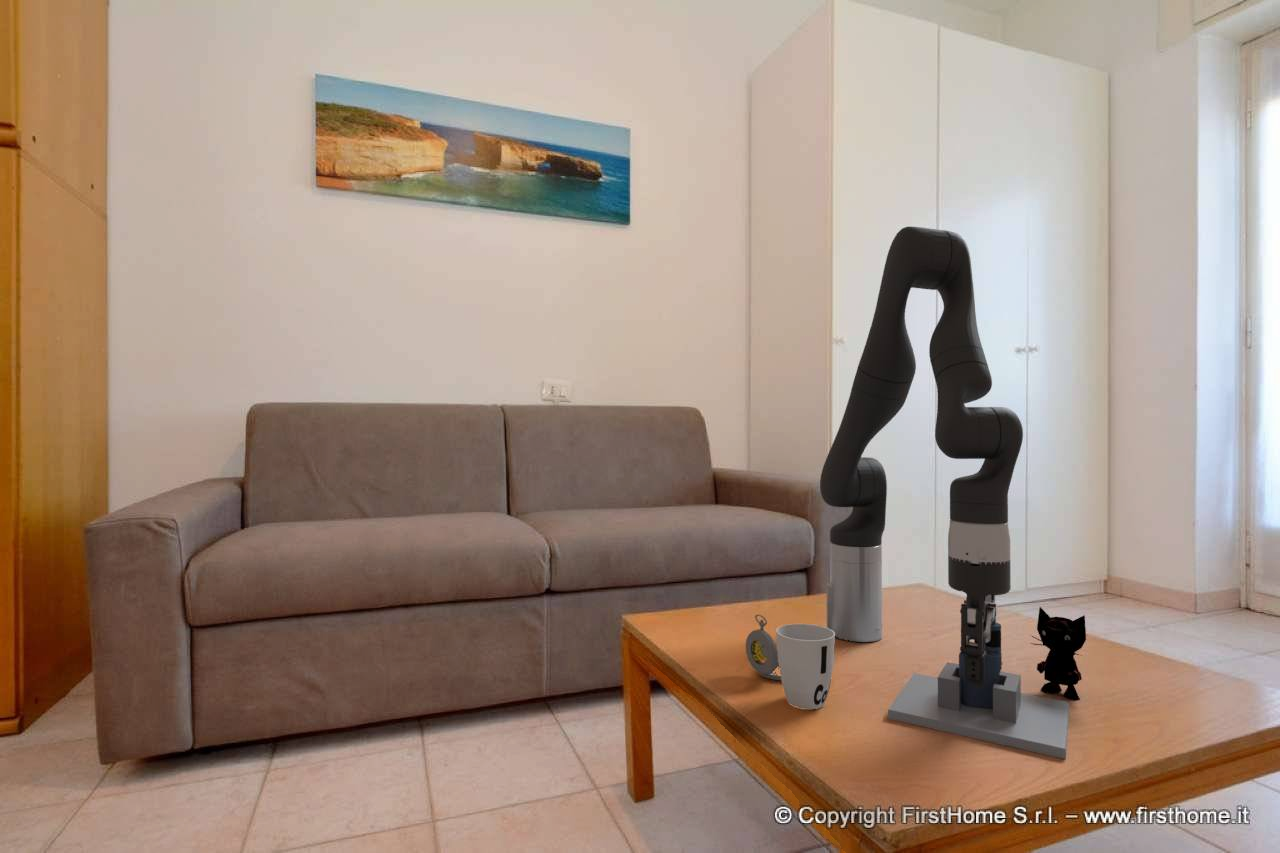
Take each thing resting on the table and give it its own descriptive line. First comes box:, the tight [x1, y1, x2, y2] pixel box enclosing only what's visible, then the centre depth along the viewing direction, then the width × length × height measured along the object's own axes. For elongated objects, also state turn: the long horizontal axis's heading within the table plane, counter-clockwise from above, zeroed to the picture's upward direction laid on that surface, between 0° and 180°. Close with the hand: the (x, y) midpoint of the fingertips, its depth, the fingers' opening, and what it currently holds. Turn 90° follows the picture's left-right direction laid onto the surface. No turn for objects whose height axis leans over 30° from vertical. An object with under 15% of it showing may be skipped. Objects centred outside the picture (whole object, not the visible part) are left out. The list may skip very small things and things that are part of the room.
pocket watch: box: [745, 614, 782, 681], centre depth 105 cm, size 8×8×10 cm
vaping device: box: [958, 616, 1003, 709], centre depth 91 cm, size 3×5×12 cm, turn 73°
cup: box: [775, 623, 836, 710], centre depth 95 cm, size 8×8×10 cm
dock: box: [887, 661, 1070, 760], centre depth 90 cm, size 20×16×5 cm
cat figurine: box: [1029, 606, 1087, 701], centre depth 98 cm, size 7×7×12 cm
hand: (979, 674), depth 90 cm, fingers open, 8 cm apart
